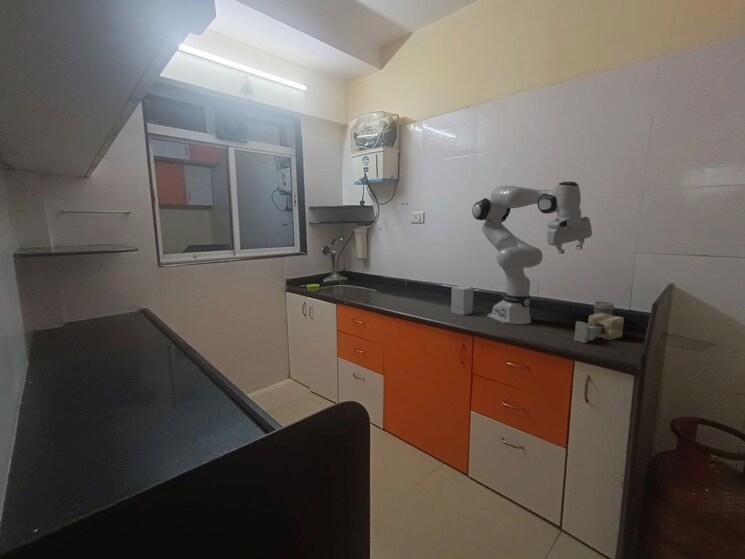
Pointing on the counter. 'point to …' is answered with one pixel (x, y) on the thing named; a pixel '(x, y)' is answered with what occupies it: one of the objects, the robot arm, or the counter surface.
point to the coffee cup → (603, 308)
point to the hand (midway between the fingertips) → (570, 251)
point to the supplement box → (462, 300)
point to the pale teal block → (591, 333)
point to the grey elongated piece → (586, 331)
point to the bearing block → (608, 325)
